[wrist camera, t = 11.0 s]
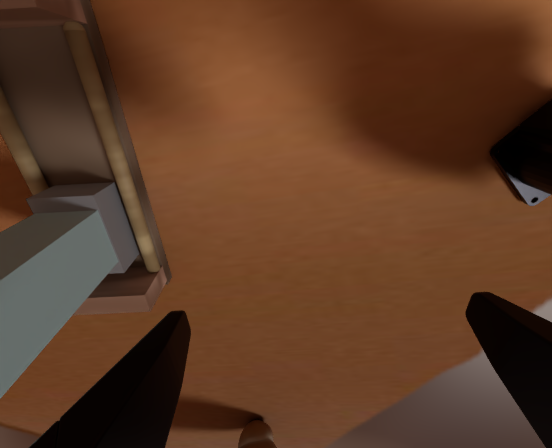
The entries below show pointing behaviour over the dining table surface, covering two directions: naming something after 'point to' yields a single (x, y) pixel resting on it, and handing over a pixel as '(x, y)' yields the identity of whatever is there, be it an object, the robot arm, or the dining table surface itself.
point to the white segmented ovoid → (256, 436)
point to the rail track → (75, 131)
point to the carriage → (56, 266)
